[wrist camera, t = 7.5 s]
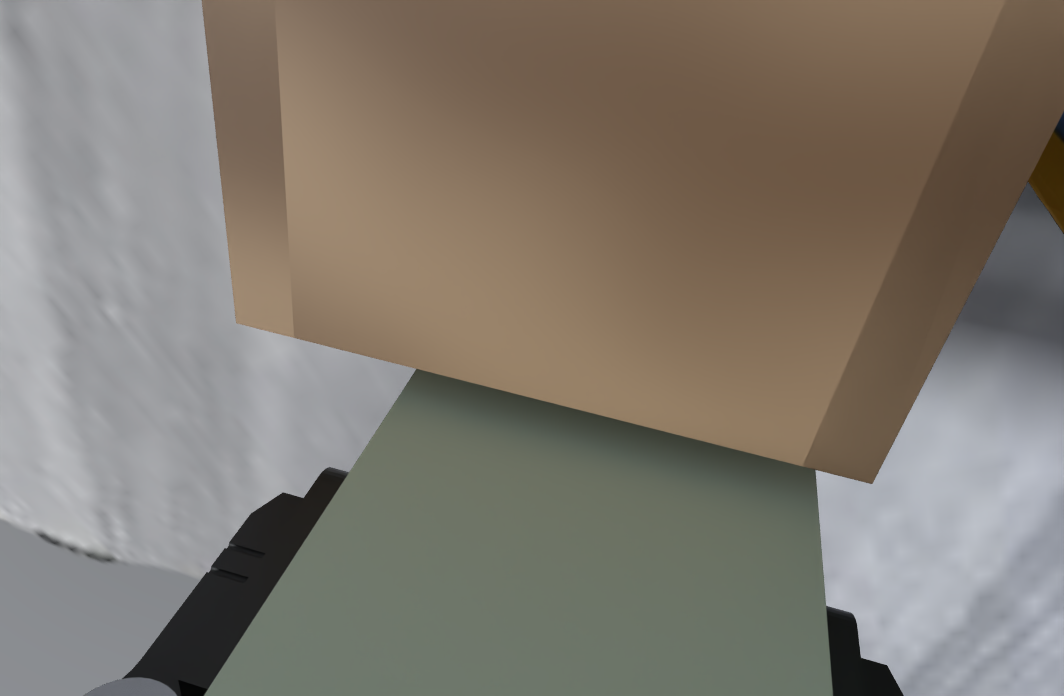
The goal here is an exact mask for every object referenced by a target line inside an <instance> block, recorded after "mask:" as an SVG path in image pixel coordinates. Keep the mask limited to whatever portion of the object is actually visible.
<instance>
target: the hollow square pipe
mask: <svg viewBox="0 0 1064 696" xmlns="http://www.w3.org/2000/svg"><path fill="white" fill-rule="evenodd" d="M204 696H833V690H832V677H831V664H830V651H829V639H828V626H827V613H826V600H825V587H824V575H823V562H822V549H821V536H820V523H819V511H818V498H817V485H816V472H815V469H811V468H807V467H803V466H799V465H795V464H791V463H787V462H783V461H779V460H775V459H771V458H767V457H763V456H759V455H755V454H751V453H747V452H744V451H740V450H736V449H732V448H728V447H724V446H720V445H716V444H712V443H708V442H704V441H700V440H696V439H692V438H688V437H684V436H680V435H676V434H672V433H668V432H664V431H661V430H657V429H653V428H649V427H645V426H641V425H637V424H633V423H629V422H625V421H621V420H617V419H613V418H609V417H605V416H601V415H597V414H593V413H589V412H585V411H581V410H578V409H574V408H570V407H566V406H562V405H558V404H554V403H550V402H546V401H542V400H538V399H534V398H530V397H526V396H522V395H518V394H514V393H510V392H506V391H502V390H499V389H495V388H491V387H487V386H483V385H479V384H475V383H471V382H467V381H463V380H459V379H455V378H451V377H447V376H443V375H439V374H435V373H431V372H427V371H423V370H419V369H416V371H415V372H414V374H413V375H412V377H411V379H410V380H409V382H408V383H407V385H406V386H405V388H404V389H403V391H402V392H401V394H400V395H399V397H398V398H397V400H396V402H395V403H394V405H393V406H392V408H391V409H390V411H389V412H388V414H387V415H386V417H385V418H384V420H383V422H382V423H381V425H380V426H379V428H378V429H377V431H376V432H375V434H374V435H373V437H372V438H371V440H370V441H369V443H368V445H367V446H366V448H365V449H364V451H363V452H362V454H361V455H360V457H359V458H358V460H357V461H356V463H355V464H354V466H353V468H352V469H351V471H350V472H349V474H348V475H347V477H346V478H345V480H344V481H343V483H342V484H341V486H340V487H339V489H338V491H337V492H336V494H335V495H334V497H333V498H332V500H331V501H330V503H329V504H328V506H327V507H326V509H325V510H324V512H323V514H322V515H321V517H320V518H319V520H318V521H317V523H316V524H315V526H314V527H313V529H312V530H311V532H310V534H309V535H308V537H307V538H306V540H305V541H304V543H303V544H302V546H301V547H300V549H299V550H298V552H297V553H296V555H295V557H294V558H293V560H292V561H291V563H290V564H289V566H288V567H287V569H286V570H285V572H284V573H283V575H282V576H281V578H280V580H279V581H278V583H277V584H276V586H275V587H274V589H273V590H272V592H271V593H270V595H269V596H268V598H267V599H266V601H265V603H264V604H263V606H262V607H261V609H260V610H259V612H258V613H257V615H256V616H255V618H254V619H253V621H252V622H251V624H250V626H249V627H248V629H247V630H246V632H245V633H244V635H243V636H242V638H241V639H240V641H239V642H238V644H237V645H236V647H235V649H234V650H233V652H232V653H231V655H230V656H229V658H228V659H227V661H226V662H225V664H224V665H223V667H222V669H221V670H220V672H219V673H218V675H217V676H216V678H215V679H214V681H213V682H212V684H211V685H210V687H209V688H208V690H207V692H206V693H205V695H204Z"/></svg>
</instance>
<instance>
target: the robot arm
mask: <svg viewBox="0 0 1064 696" xmlns="http://www.w3.org/2000/svg"><path fill="white" fill-rule="evenodd" d="M348 474H349V472H346V471H342V470H338V469H335V468H331V467H329V468H326V469H325V470H324V471H323V472H322V473H321V474H320V475H319V477H318V478H317V480H316V481H315V482H314V484H313V485H312V487H311V488H310V490H309V491H308V493H307V494H306V495H305V497H304V498H301V497H297V496H294V495H290V494H287V493H282V494H280V495H279V496H277V497H275V498H274V499H272V500H271V501H269V502H268V503H266V504H265V505H263V506H262V507H260V508H259V509H257V510H256V511H254V512H253V513H251V514H250V516H249V517H248V518H247V520H246V521H245V522H244V524H243V525H242V526H241V528H240V529H239V530H238V532H237V533H236V534H235V536H234V537H233V538H232V540H231V541H230V542H229V546H228V548H227V549H226V548H225V549H224V550H223V551H222V553H221V554H220V555H219V557H218V558H217V559H216V561H215V562H214V563H213V565H212V566H211V570H210V572H209V573H208V572H207V573H206V574H205V575H204V577H203V578H202V579H201V581H200V582H199V583H198V585H197V586H196V587H195V589H194V590H193V591H192V593H191V594H190V595H189V597H188V598H187V599H186V600H185V602H184V603H183V604H182V606H181V607H180V608H179V610H178V611H177V612H176V614H175V615H174V616H173V618H172V619H171V620H170V622H169V623H168V624H167V626H166V627H165V628H164V630H163V631H162V632H161V634H160V635H159V636H158V638H157V639H156V640H155V642H154V643H153V644H152V646H151V647H150V648H149V649H148V651H147V652H146V654H145V655H144V656H143V657H142V659H141V660H140V661H139V662H138V664H137V665H136V666H135V667H134V668H133V669H132V670H131V671H130V672H129V673H128V674H127V675H126V676H125V677H124V678H122V679H119V680H115V681H112V682H109V683H106V684H104V685H101V686H99V687H97V688H95V689H93V690H91V691H90V692H88V693H86V694H85V695H83V696H204V695H205V693H206V692H207V690H208V688H209V687H210V685H211V684H212V682H213V681H214V679H215V678H216V676H217V675H218V673H219V672H220V670H221V669H222V667H223V665H224V664H225V662H226V661H227V659H228V658H229V656H230V655H231V653H232V652H233V650H234V649H235V647H236V645H237V644H238V642H239V641H240V639H241V638H242V636H243V635H244V633H245V632H246V630H247V629H248V627H249V626H250V624H251V622H252V621H253V619H254V618H255V616H256V615H257V613H258V612H259V610H260V609H261V607H262V606H263V604H264V603H265V601H266V599H267V598H268V596H269V595H270V593H271V592H272V590H273V589H274V587H275V586H276V584H277V583H278V581H279V580H280V578H281V576H282V575H283V573H284V572H285V570H286V569H287V567H288V566H289V564H290V563H291V561H292V560H293V558H294V557H295V555H296V553H297V552H298V550H299V549H300V547H301V546H302V544H303V543H304V541H305V540H306V538H307V537H308V535H309V534H310V532H311V530H312V529H313V527H314V526H315V524H316V523H317V521H318V520H319V518H320V517H321V515H322V514H323V512H324V510H325V509H326V507H327V506H328V504H329V503H330V501H331V500H332V498H333V497H334V495H335V494H336V492H337V491H338V489H339V487H340V486H341V484H342V483H343V481H344V480H345V478H346V477H347V475H348ZM826 613H827V626H828V639H829V651H830V664H831V677H832V690H833V696H904V695H903V693H902V692H901V690H900V688H899V686H898V684H897V683H896V681H895V679H894V677H893V675H892V673H891V672H890V670H889V668H888V666H887V665H884V664H880V663H877V662H873V661H870V660H866V659H863V658H861V655H860V647H859V638H858V629H857V623H856V619H855V617H854V615H853V614H852V613H850V612H846V611H843V610H839V609H835V608H832V607H828V606H826Z"/></svg>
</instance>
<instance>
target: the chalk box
mask: <svg viewBox="0 0 1064 696" xmlns="http://www.w3.org/2000/svg"><path fill="white" fill-rule="evenodd" d="M1028 182H1029V184H1030V185H1031V187H1032V188H1033V190H1034V191H1035V193H1036V194H1037V196H1038V198H1039V199H1040V200H1041V202H1042V203H1043V204H1044V206H1045V207H1046V208H1047V210H1048V211H1049V213H1050V214H1051V216H1052V217H1053V219H1054V220H1055V222H1056V224H1057V225H1058V227H1059V228H1060V229H1061V231H1062V232H1063V234H1064V112H1063V114H1062V116H1061V118H1060V120H1059V122H1058V124H1057V126H1056V128H1055V129H1054V131H1053V133H1052V135H1051V137H1050V139H1049V141H1048V143H1047V145H1046V147H1045V149H1044V151H1043V153H1042V155H1041V157H1040V159H1039V161H1038V163H1037V164H1036V166H1035V168H1034V170H1033V172H1032V174H1031V176H1030V178H1029V180H1028Z"/></svg>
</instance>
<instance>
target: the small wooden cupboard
mask: <svg viewBox="0 0 1064 696" xmlns="http://www.w3.org/2000/svg"><path fill="white" fill-rule="evenodd" d="M202 7H203V17H204V26H205V35H206V45H207V54H208V63H209V73H210V82H211V91H212V101H213V110H214V120H215V129H216V138H217V148H218V157H219V166H220V176H221V185H222V194H223V204H224V213H225V222H226V232H227V241H228V250H229V260H230V269H231V278H232V288H233V297H234V306H235V316H236V323H238V324H242V325H246V326H250V327H253V328H257V329H261V330H265V331H269V332H273V333H277V334H281V335H285V336H289V337H293V338H297V339H301V340H305V341H309V342H313V343H317V344H321V345H325V346H329V347H333V348H336V349H340V350H344V351H348V352H352V353H356V354H360V355H364V356H368V357H372V358H376V359H380V360H384V361H388V362H392V363H396V364H400V365H404V366H408V367H412V368H416V369H419V370H423V371H427V372H431V373H435V374H439V375H443V376H447V377H451V378H455V379H459V380H463V381H467V382H471V383H475V384H479V385H483V386H487V387H491V388H495V389H499V390H502V391H506V392H510V393H514V394H518V395H522V396H526V397H530V398H534V399H538V400H542V401H546V402H550V403H554V404H558V405H562V406H566V407H570V408H574V409H578V410H581V411H585V412H589V413H593V414H597V415H601V416H605V417H609V418H613V419H617V420H621V421H625V422H629V423H633V424H637V425H641V426H645V427H649V428H653V429H657V430H661V431H664V432H668V433H672V434H676V435H680V436H684V437H688V438H692V439H696V440H700V441H704V442H708V443H712V444H716V445H720V446H724V447H728V448H732V449H736V450H740V451H744V452H747V453H751V454H755V455H759V456H763V457H767V458H771V459H775V460H779V461H783V462H787V463H791V464H795V465H799V466H803V467H807V468H811V469H815V470H819V471H823V472H827V473H830V474H834V475H838V476H842V477H846V478H850V479H854V480H858V481H862V482H866V483H870V484H872V483H873V482H874V480H875V478H876V476H877V474H878V472H879V470H880V468H881V466H882V464H883V462H884V460H885V458H886V456H887V454H888V452H889V450H890V448H891V447H892V445H893V443H894V441H895V439H896V437H897V435H898V433H899V431H900V429H901V427H902V425H903V423H904V421H905V419H906V417H907V415H908V413H909V412H910V410H911V408H912V406H913V404H914V402H915V400H916V398H917V396H918V394H919V392H920V390H921V388H922V386H923V384H924V382H925V380H926V378H927V376H928V375H929V373H930V371H931V369H932V367H933V365H934V363H935V361H936V359H937V357H938V355H939V353H940V351H941V349H942V347H943V345H944V343H945V341H946V340H947V338H948V336H949V334H950V332H951V330H952V328H953V326H954V324H955V322H956V320H957V318H958V316H959V314H960V312H961V310H962V308H963V306H964V305H965V303H966V301H967V299H968V297H969V295H970V293H971V291H972V289H973V287H974V285H975V283H976V281H977V279H978V277H979V275H980V273H981V271H982V270H983V268H984V266H985V264H986V262H987V260H988V258H989V256H990V254H991V252H992V250H993V248H994V246H995V244H996V242H997V240H998V238H999V236H1000V235H1001V233H1002V231H1003V229H1004V227H1005V225H1006V223H1007V221H1008V219H1009V217H1010V215H1011V213H1012V211H1013V209H1014V207H1015V205H1016V203H1017V201H1018V199H1019V198H1020V196H1021V194H1022V192H1023V190H1024V188H1025V186H1026V184H1027V182H1028V180H1029V178H1030V176H1031V174H1032V172H1033V170H1034V168H1035V166H1036V164H1037V163H1038V161H1039V159H1040V157H1041V155H1042V153H1043V151H1044V149H1045V147H1046V145H1047V143H1048V141H1049V139H1050V137H1051V135H1052V133H1053V131H1054V129H1055V128H1056V126H1057V124H1058V122H1059V120H1060V118H1061V116H1062V114H1063V112H1064V0H202Z"/></svg>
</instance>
